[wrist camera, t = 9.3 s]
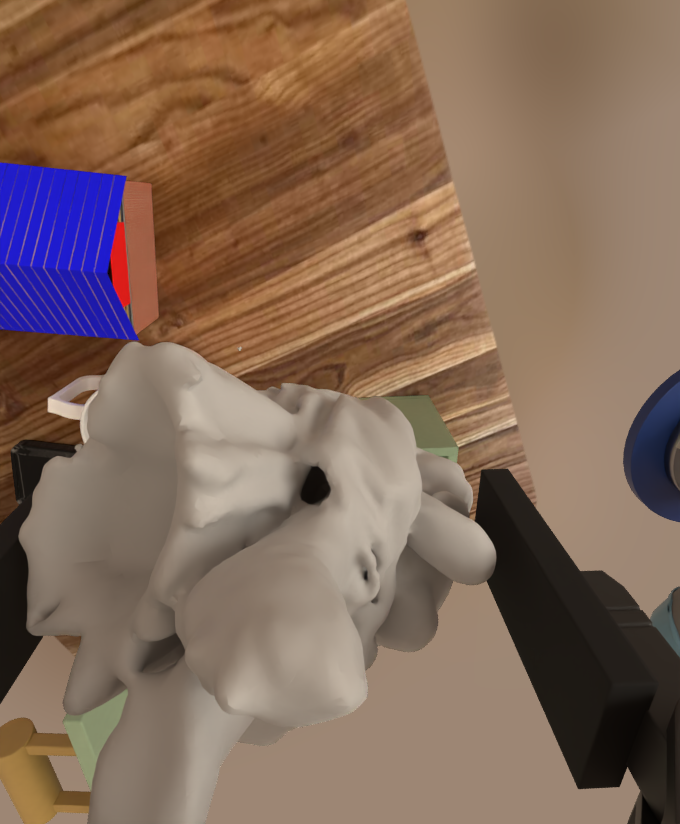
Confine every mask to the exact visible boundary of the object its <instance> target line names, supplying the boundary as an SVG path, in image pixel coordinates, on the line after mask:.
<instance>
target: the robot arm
mask: <svg viewBox="0 0 680 824" xmlns="http://www.w3.org/2000/svg"><path fill="white" fill-rule="evenodd" d="M664 465H665V471H666V474H667V477H668V479H669V480H670V482H671V483H672V484H673V486H674V487H675V488H677V489H678V490H679V491H680V421H679V423H678V424H677V426H676V427H675V429H674V430H673V432H672V434H671V436H670V438H669V440H668V443H667V446H666V450H665V456H664ZM33 492H34V491H33ZM33 492H32V493H31V494H30V495H29V496H28V497H27V498H26V499H25V500H24V501H23V502H22V503H21V504H20V505H19V506H18V507H17V508H16V509H15V510H14V511H13V512H12V513H11V514H10V515H9V516H8V517H7V518H6V519H5V520H4V521H3V522H2V523H1V524H0V704H1V702H2V700H3V699H4V697H5V696H6V694H7V693H8V691H9V689H10V688H11V686H12V685H13V683H14V682H15V680H16V679H17V677H18V675H19V674H20V672H21V671H22V669H23V667H24V666H25V664H26V663H27V661H28V660H29V658H30V656H31V655H32V653H33V652H34V650H35V649H36V647H37V645H38V644H39V642H40V641H41V639H42V638H43V636H35V635H32V634H31V633H29V632H28V630H27V628H26V622H27V606H28V603H27V584H28V574H29V568H28V559H27V555H26V552H25V550H24V549H23V547H22V545H21V543H20V541H19V537H18V536H19V532H20V528H21V526H22V524H23V523H24V521H25V520H26V519H27V517H28V516H29V514H30V511H31V508H32V496H33ZM475 522H476V523H477V524H479V525H480V526H481V528H482V529H483V530H484V531H485V533H486V534H487V535H488V537H489V538H490V540H491V541H492V543H493V545H494V548H495V550H496V565H495V569H494V572H493V574H492V576H491V577H490V578H489V579H488V580H487V583H488V585H489V588H490V589H491V592H492V594H493V596H494V599H495V601H496V603H497V606H498V608H499V610H500V612H501V615H502V617H503V619H504V622H505V624H506V626H507V628H508V630H509V633H510V635H511V637H512V640H513V642H514V644H515V647H516V649H517V651H518V653H519V656H520V658H521V660H522V662H523V665H524V667H525V669H526V672H527V674H528V676H529V678H530V681H531V683H532V685H533V687H534V690H535V692H536V694H537V697H538V699H539V701H540V703H541V706H542V708H543V710H544V712H545V714H546V717H547V719H548V721H549V724H550V726H551V728H552V730H553V733H554V735H555V737H556V740H557V742H558V744H559V746H560V749H561V751H562V753H563V756H564V758H565V760H566V762H567V765H568V767H569V769H570V771H571V774H572V776H573V778H574V781H575V783H576V785H577V787H578V789H589V788H608V787H620V784H621V782H622V779H623V777H624V774H625V772H626V769H627V767H628V768H629V770H630V772H631V774H632V776H633V778H634V780H635V781H636V783H637V785H638V786H639V789H640V793H639V795H638V798H637V801H636V803H635V805H634V808H633V810H632V812H631V815H630V817H629V820H628V823H627V824H680V587H677V588H675V589H673V590H672V591H671V593H670V594H669V596H668V598H667V599H666V600H665V601H664V602H663V603H662V604H661V605H659V606H658V607H657V608H656V609H655V610H654V611H653V613H652V616H651V618H650V619H649V618H648V617H647V615H646V614H645V613H644V612H643V610H640V608H639V605H638V604H637V603H636V602H635V600H634V599H633V598H632V596H631V595H630V594H629V593H628V591H627V590H626V589H625V588H624V587H623V586H622V585H621V584H619V583H618V582H617V581H615V580H614V579H613V578H611V577H610V576H609V575H607V574H606V573H605V572H603V571H580V570H579V569H578V568H577V566H576V565H575V563H574V562H573V560H572V559H571V558H570V556H569V555H568V553H567V552H566V551H565V549H564V548H563V546H562V545H561V544H560V542H559V541H558V539H557V538H556V536H555V535H554V534H553V532H552V531H551V529H550V528H549V526H548V525H547V524H546V522H545V521H544V520H543V518H542V517H541V515H540V514H539V512H538V511H537V509H536V508H535V507H534V505H533V504H532V502H531V501H530V499H529V498H528V497H527V495H526V494H525V492H524V491H523V490H522V488H521V487H520V485H519V484H518V482H517V481H516V480H515V478H514V477H513V475H512V474H511V473H510V471H509V470H508V469H488V470H481V477H480V485H479V493H478V501H477V509H476V516H475Z"/></svg>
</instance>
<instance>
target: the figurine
mask: <svg viewBox="0 0 680 824" xmlns="http://www.w3.org/2000/svg"><path fill="white" fill-rule="evenodd" d="M241 348H242V347H240V348H238V350H239V351H240V350H241ZM87 430H88V434H89V439H88V440H87V441H86V443H85V444H84V445H83V446H82V444H78V445H76V446H75V449H76V451H77V452H76V453H75V454H74V455H73V456H72V457H71V458H66V457H62V456H56V457H54V458H52V459H51V460H49V461H48V462H47V463H46V464H45V465H44V467H43V470H42V475H41V479H40V482H39V483H38V485H37V486H36V488H35V489H34V492H33V496H32V508H31V511H30V514H29V516H28V517H27V519H26V520H25V521H24V523H23V524H22V526H21V528H20V532H19V536H18V537H19V541H20V543H21V545H22V547H23V549H24V550H25V552H26V555H27V559H28V568H29V574H28V584H27V603H28V606H27V622H26V628H27V630H28V632H29V633H31V634H32V635H35V636H58V635H71V636H81V643H80V646H79V649H78V651H77V654H76V657H75V660H74V663H73V666H72V669H71V673H70V676H69V680H68V683H67V687H66V691H65V695H64V699H63V707H64V710H65V711H66V712H67V713H68V714H69V715H73V716H76V715H82V714H84V713H87V712H89V711H91V710H93V709H95V708H96V707H99V706H101V705H103V704H104V703H106V702H108V701H109V700H111V699H112V698H114V697H116V696H117V695H119V694H121V693H122V692H123V691H124V690H126V689H127V690H128V696H127V698H126V701H125V705H124V708H123V711H122V715H121V718H120V720H119V722H118V724H117V726H116V727H115V729H114V730H113V731H112V733H111V734H110V735H109V737H108V739H107V741H106V742H105V744H104V746H103V748H102V750H101V751H100V753H99V756H98V759H97V762H96V768H95V772H94V776H93V780H92V786H91V795H90V805H89V813H88V823H87V824H205V822H206V818H207V814H208V810H209V807H210V803H211V800H212V796H213V793H214V790H215V786H216V782H217V779H218V775H219V769H220V766H221V764H222V763H223V761H224V760H225V758H226V757H227V755H228V753H229V752H230V750H231V749H232V747H233V746H234V745H235V744H236V742H241V743H248V744H254V745H260V746H265V745H271V744H274V743H276V742H277V741H278V740H279V739H281V738H282V737H283V736H284V735H285V734H286V733H287V732H288V731H290V730H293V729H295V728H297V727H303V726H308V725H312V724H316V723H321V722H325V721H329V720H332V719H335V718H338V717H341V716H344V715H347V714H349V713H351V712H353V711H354V710H355V709H357V708H358V707H359V706H360V705H361V704H362V703H363V702H364V700H365V699H366V698H367V695H368V694H367V693H368V683H367V679H366V675H365V671H366V670H367V669H368V668H370V667H371V665H372V664H373V662H374V661H375V659H376V656H377V651H378V648H377V646H383V647H386V648H390V649H394V650H398V651H403V652H415V651H418V650H420V649H422V648H423V647H425V646H426V645H427V644H428V643H429V642H430V641H431V640H432V639H433V637H434V636H435V633H436V630H437V626H438V614H437V612H438V610H439V609H440V607H441V606H442V604H443V602H444V601H445V599H446V597H447V595H448V593H449V591H450V589H451V586H452V583H453V581H456V582H458V583H462V584H466V585H478V584H481V583H483V582H485V581H487V580H488V579H489V578H490V577H491V576H492V574H493V572H494V569H495V565H496V550H495V548H494V545H493V543H492V541H491V540H490V538H489V537H488V535H487V534H486V533H485V531H484V530H483V529H482V528H481V526H480V525H479V524H477V523H476V522H474V521H473V520H471V519H469V512H470V509H471V506H472V503H473V492H472V488H471V486H470V484H469V483H468V482H467V481H466V479H465V476H464V472H463V470H462V468H461V467H460V466H459V465H458V464H457V463H455V462H453V461H451V460H449V459H446V458H444V457H440V456H437V455H434V454H432V453H430V452H427V451H424V450H422V449H420V448H417V447H416V441H415V437H414V432H413V428H412V426H411V424H410V422H409V421H408V420H407V419H406V417H405V416H404V415H403V413H402V412H401V411H400V410H399V409H398V408H397V407H396V406H394V405H393V404H392V403H390V402H389V401H388V400H386V399H384V398H382V397H378V396H374V397H371V398H370V399H368V400H360V399H358V398H356V397H352V396H350V395H347V394H344V393H339V392H335V391H331V390H327V389H314V388H312V387H310V386H307V385H297V384H293V383H282V385H281V390H280V389H278V388H275V387H270V388H268V389H267V390H266V391H264V390H258V391H256V390H255V389H253V388H252V387H250V386H249V385H247V384H246V383H244V382H242V381H241V380H239V379H237V378H236V377H234V376H232V375H231V374H229V373H228V372H226V371H225V370H223V369H221V368H220V367H218V366H216V365H214V364H211V363H209V362H207V361H206V360H205V359H204V358H202V357H200V356H198V355H196V354H195V353H193V352H192V351H190V350H189V349H187V348H186V347H184V346H181V345H178V344H175V343H171V342H161V343H158V344H156V345H154V346H143V345H142V344H141V343H138V342H136V341H135V342H130V343H128V344H126V345H125V346H124V347H123V348H122V349H121V351H120V352H119V353H118V354H117V356H116V357H115V359H114V360H113V362H112V363H111V365H110V367H109V369H108V370H107V372H106V374H105V375H104V376H103V377H102V378H101V380H100V383H99V390H98V394H97V396H96V398H95V399H94V400H93V401H92V402H91V404H90V405H89V409H88V421H87Z"/></svg>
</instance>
